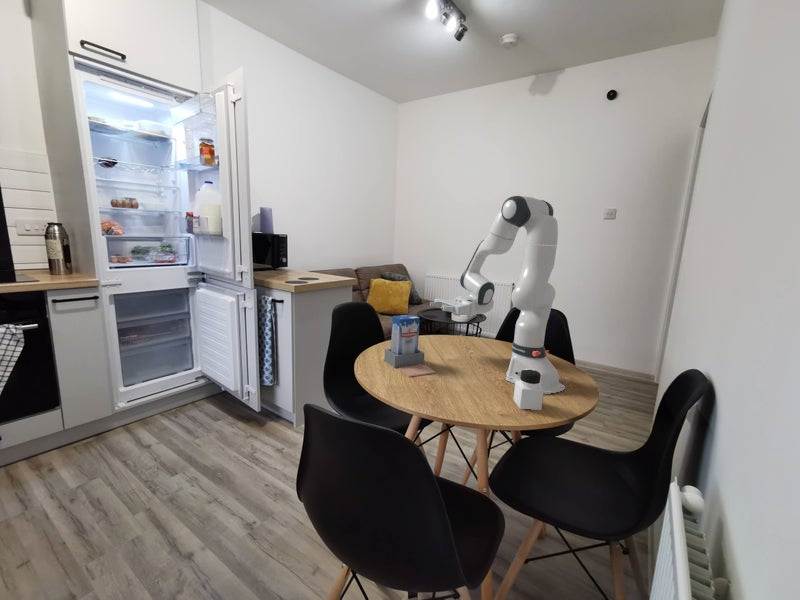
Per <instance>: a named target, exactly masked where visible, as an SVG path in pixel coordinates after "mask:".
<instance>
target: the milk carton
mask: <svg viewBox="0 0 800 600" xmlns="http://www.w3.org/2000/svg"><path fill="white" fill-rule="evenodd" d="M391 318H392V320H391V321H392V322H391V338H390V339H391V340H390V342H391V343H390V349H391V352H392V353H393V354H395V355H404V354H413V353H418V349H419V339H420V338H419V337H420V335H419V334H420V321H421V320H420V319H421V317H419V316H416V315H414V314H405V315H402V314H401V315H393V316H392V317H391Z"/></svg>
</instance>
